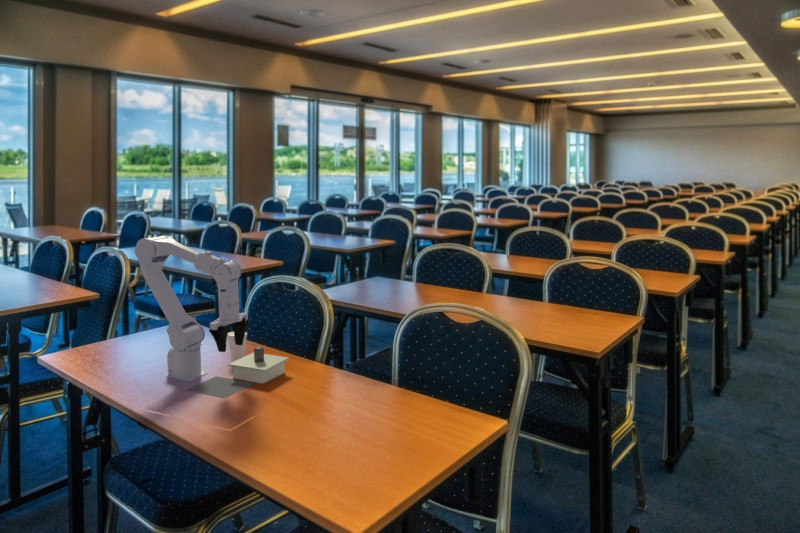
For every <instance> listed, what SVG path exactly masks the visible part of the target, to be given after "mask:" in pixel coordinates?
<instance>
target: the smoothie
mask: <svg viewBox="0 0 800 533" xmlns="http://www.w3.org/2000/svg"><path fill="white" fill-rule="evenodd" d="M247 337H248V332H247V331H246V332H245V336H244V340H243V345H236V344H235V338H234V331H230V332H228V334H227V339H228V346H229V352H230V358H231V363H232V362H234V361H236V360H238V359H240V358H242V357H245V353H246V345H247V344H246V342H247Z"/></svg>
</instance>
